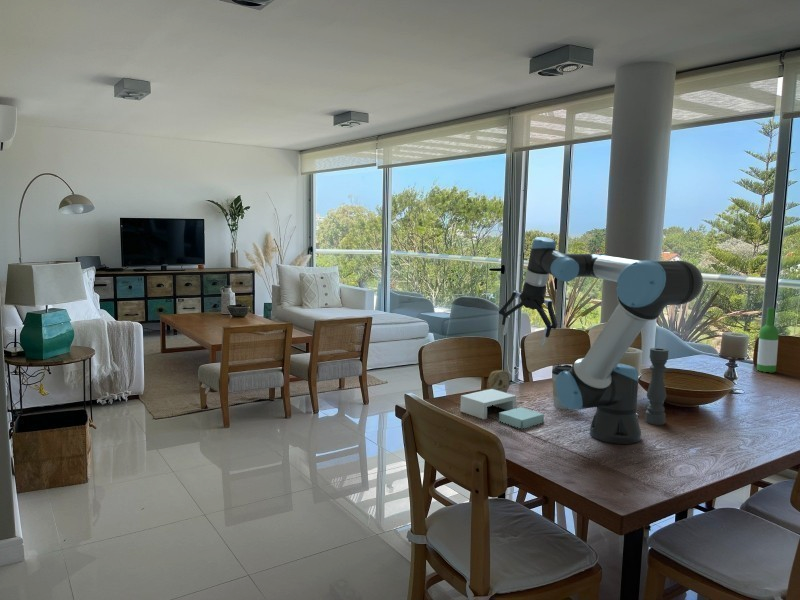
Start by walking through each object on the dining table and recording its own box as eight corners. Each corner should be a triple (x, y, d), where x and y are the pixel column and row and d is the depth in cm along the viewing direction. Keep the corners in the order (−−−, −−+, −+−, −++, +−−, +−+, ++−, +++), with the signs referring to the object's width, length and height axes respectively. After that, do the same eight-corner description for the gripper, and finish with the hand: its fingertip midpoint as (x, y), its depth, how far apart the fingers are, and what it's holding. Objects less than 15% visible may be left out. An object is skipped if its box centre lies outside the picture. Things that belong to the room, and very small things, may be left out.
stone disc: (503, 392, 239) (504, 367, 238) (510, 394, 236) (511, 369, 235) (484, 395, 233) (485, 370, 232) (491, 398, 230) (492, 372, 229)
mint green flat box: (543, 422, 201) (543, 414, 200) (521, 429, 194) (522, 420, 194) (520, 415, 209) (520, 407, 208) (498, 421, 202) (499, 412, 202)
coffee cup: (570, 411, 214) (572, 370, 212) (546, 406, 219) (548, 366, 218) (579, 405, 221) (581, 366, 219) (556, 401, 227) (558, 362, 225)
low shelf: (515, 411, 214) (515, 395, 213) (483, 419, 204) (484, 403, 203) (491, 403, 223) (491, 388, 222) (460, 411, 213) (460, 395, 212)
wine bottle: (778, 373, 277) (784, 309, 274) (760, 372, 278) (765, 308, 275) (771, 369, 284) (776, 307, 281) (753, 369, 286) (758, 306, 282)
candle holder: (642, 422, 203) (646, 349, 200) (649, 418, 207) (653, 347, 205) (660, 426, 199) (665, 352, 196) (667, 422, 203) (672, 349, 200)
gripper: (574, 288, 201) (560, 345, 209) (503, 270, 210) (492, 325, 217) (570, 295, 195) (556, 353, 202) (497, 276, 203) (486, 332, 211)
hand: (523, 339), depth 210 cm, fingers open, 13 cm apart
